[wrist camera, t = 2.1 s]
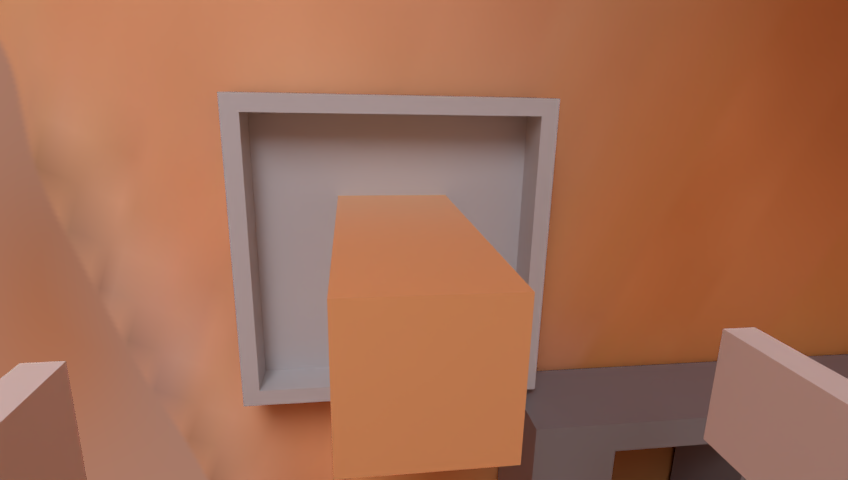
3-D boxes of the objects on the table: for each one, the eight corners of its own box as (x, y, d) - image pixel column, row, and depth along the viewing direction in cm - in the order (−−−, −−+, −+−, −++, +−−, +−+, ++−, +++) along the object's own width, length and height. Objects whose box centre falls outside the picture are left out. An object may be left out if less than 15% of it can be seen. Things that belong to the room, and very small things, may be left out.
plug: (338, 195, 19) (326, 298, 10) (445, 194, 20) (535, 292, 10) (340, 297, 20) (333, 479, 11) (442, 293, 21) (520, 465, 11)
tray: (230, 91, 18) (217, 91, 16) (539, 97, 20) (560, 98, 18) (253, 377, 21) (243, 406, 19) (519, 364, 23) (534, 388, 21)
